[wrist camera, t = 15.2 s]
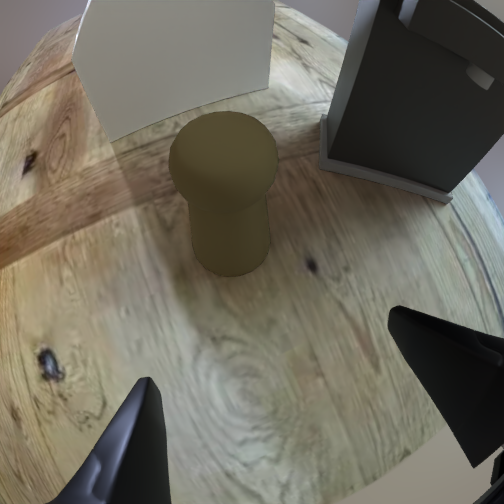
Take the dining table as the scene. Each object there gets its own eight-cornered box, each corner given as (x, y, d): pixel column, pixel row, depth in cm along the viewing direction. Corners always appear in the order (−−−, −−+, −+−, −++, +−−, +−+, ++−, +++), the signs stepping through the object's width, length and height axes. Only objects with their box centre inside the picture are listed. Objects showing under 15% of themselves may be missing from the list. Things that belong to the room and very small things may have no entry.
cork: (286, 235, 21) (319, 133, 11) (233, 293, 20) (222, 221, 9) (229, 192, 23) (221, 82, 12) (176, 242, 21) (127, 145, 11)
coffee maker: (451, 224, 22) (574, 97, 4) (317, 191, 23) (397, -42, 4) (435, 156, 26) (513, 33, 7) (319, 121, 26) (362, -50, 8)
